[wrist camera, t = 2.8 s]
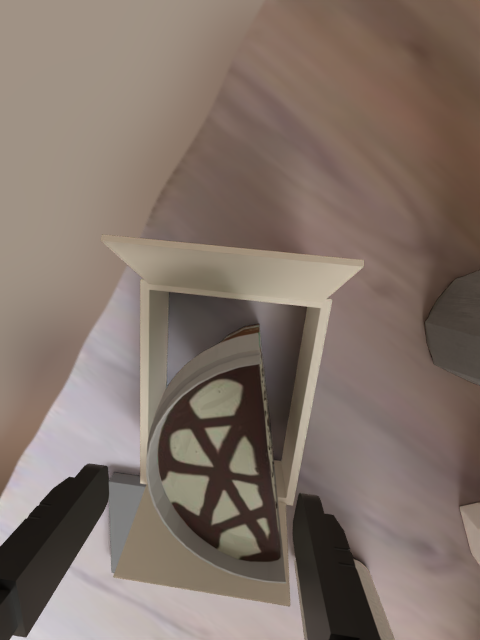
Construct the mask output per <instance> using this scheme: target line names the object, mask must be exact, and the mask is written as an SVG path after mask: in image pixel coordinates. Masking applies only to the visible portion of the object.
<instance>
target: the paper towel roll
mask: <svg viewBox="0 0 480 640" xmlns="http://www.w3.org/2000/svg"><path fill="white" fill-rule="evenodd" d="M354 562H355V567H356V569H357V571H358V574H359V577H360V580H361V583H362V586H363V588H364V591H365V594H366V597H367V600H368V603H369V606H370V609H371V612H372V615H373V618H374V621H375V624H376V627H377V630H378V633H379V635H380V638H381V640H395V639H394V636H393V633H392V631H391V628H390V625H389V623H388V620H387V617H386V615H385V612H384V609H383V607H382V604H381V601H380V599H379V596H378V593H377V591H376V588H375V585H374V583H373V580H372V578H371V575H370V572H369V570H368V569H367V568H366V567H365V566H364V565H363V564H362V563H361V562H360V561H357V560H355V559H354ZM294 563H295V571H296V579H297V586H298V594H299V601H300V609H301V616H302V624H303V632H304V639H305V640H308V639H307V633H306V626H305V619H304V612H303V605H302V598H301V591H300V584H299V577H298V570H297V563H296V561H295V560H294Z"/></svg>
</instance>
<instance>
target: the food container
mask: <svg viewBox="0 0 480 640" xmlns="http://www.w3.org/2000/svg"><path fill="white" fill-rule="evenodd" d="M146 477H147V483H148V489H149V493H150V496H151V499H152V502H153V505H154V507H155V509H156V511H157V513H158V515H159V517H160V518H161V520H162V522H163V523H164V525H165V526H166V527H167V529H168V530H169V531H170V532H171V534H172V535H173V536H174V537H175V538H176V539H177V540H178V541H179V542H180V543H181V544H182V545H183V546H184V547H185V548H186V549H188V550H189V551H190V552H192V553H193V554H194V555H196V556H197V557H198V558H200V559H202V560H203V561H205V562H207V563H209V564H210V565H212V566H214V567H216V568H218V569H221V570H223V571H225V572H228V573H230V574H233V575H236V576H240V577H243V578H247V579H250V580H256V581H263V582H269V583H286V579H285V568H284V557H283V547H282V538H281V527H280V517H279V507H278V497H277V486H276V476H275V466H274V456H273V445H272V435H271V425H270V416H269V407H268V398H267V389H266V380H265V371H264V362H263V353H262V344H261V335H260V326H259V324H254V325H249V326H245V327H243V328H241V329H239V330H237V331H235V332H233V333H231V334H229V335H228V336H227V337H226V338H225V339H224V340H223V341H222V342H221V343H219V344H217V345H215V346H213V347H211V348H209V349H207V350H205V351H204V352H202V353H200V354H199V355H198V356H196V357H195V358H194V359H192V360H191V361H190V362H188V363H187V364H186V365H185V366H184V367H183V368H182V369H181V370H180V371H179V372H178V373H177V374H176V376H175V377H174V378H173V379H172V381H171V382H170V384H169V385H168V387H167V388H166V390H165V392H164V393H163V396H162V398H161V401H160V403H159V406H158V408H157V411H156V414H155V417H154V420H153V423H152V426H151V429H150V434H149V438H148V443H147V460H146Z"/></svg>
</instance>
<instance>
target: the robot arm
mask: <svg viewBox="0 0 480 640" xmlns="http://www.w3.org/2000/svg"><path fill="white" fill-rule="evenodd" d="M108 499H109V475H108V467H107V466H104V465H97V464H87V465H85V466H84V467H83V468H82V470H81V471H80V472H79V473H78V474H77V476H76V477H75V478H73V477H68V478H67V479H66V480H64V481H63V482H61V483H60V484H59V485H57V486H56V487H54V488H53V489H52V490H51V491H50V492H49V494H48V495H47V496H46V497H45V498H44V499H43V500H42V501H41V502H40V505H39V506H37V507H36V508H35V509H34V510H33V511H32V512H31V513H30V514H29V516H28V518H27V519H25V520H24V521H23V522H22V523H21V524H20V525H19V527H18V528H17V529H16V530H15V531H14V532H13V533H12V534H11V535H10V537H9V538H8V539H7V540H6V541H5V542H4V543H3V544H2V545H1V546H0V640H10V638H11V637H12V635H14V636H20V637H27V635H28V634H29V632H30V630H31V629H32V627H33V626H34V624H35V622H36V621H37V619H38V617H39V616H40V614H41V613H42V611H43V609H44V608H45V606H46V604H47V603H48V601H49V600H50V598H51V596H52V595H53V593H54V591H55V590H56V588H57V587H58V585H59V583H60V582H61V580H62V578H63V577H64V575H65V574H66V572H67V570H68V569H69V567H70V565H71V564H72V562H73V561H74V559H75V557H76V556H77V554H78V552H79V551H80V549H81V548H82V546H83V544H84V543H85V541H86V539H87V538H88V536H89V535H90V533H91V531H92V530H93V528H94V526H95V525H96V523H97V522H98V520H99V518H100V517H101V515H102V513H103V512H104V510H105V507H106V505H107V502H108ZM293 542H294V549H295V556H296V563H297V570H298V577H299V584H300V591H301V598H302V605H303V612H304V619H305V626H306V633H307V639H308V640H381V638H380V635H379V633H378V630H377V627H376V624H375V621H374V618H373V615H372V612H371V609H370V606H369V603H368V600H367V597H366V594H365V591H364V588H363V586H362V583H361V580H360V577H359V574H358V571H357V569H356V567H355V562H354V559H353V556H352V553H351V552H350V547H349V544H348V542H347V539H346V536H345V533H344V530H343V529H342V527H341V526H340V524H339V523H338V521H337V520H336V518H335V517H334V515H330V514H324V511H323V507H322V504H321V500H320V498H319V496H316V495H308V494H301V493H299V495H298V500H297V505H296V510H295V515H294V520H293Z"/></svg>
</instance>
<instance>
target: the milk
mask: <svg viewBox="0 0 480 640" xmlns="http://www.w3.org/2000/svg"><path fill="white" fill-rule="evenodd" d="M460 512H461V516H462V519H463V523H464V527H465V531H466V535H467V539H468V543H469V547H470V551H471V554H472V555H473V557H474V558H475V559H476V561H477V562H478V563H479V565H480V502H479V503H474V504H469V505H465V506H460Z"/></svg>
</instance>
